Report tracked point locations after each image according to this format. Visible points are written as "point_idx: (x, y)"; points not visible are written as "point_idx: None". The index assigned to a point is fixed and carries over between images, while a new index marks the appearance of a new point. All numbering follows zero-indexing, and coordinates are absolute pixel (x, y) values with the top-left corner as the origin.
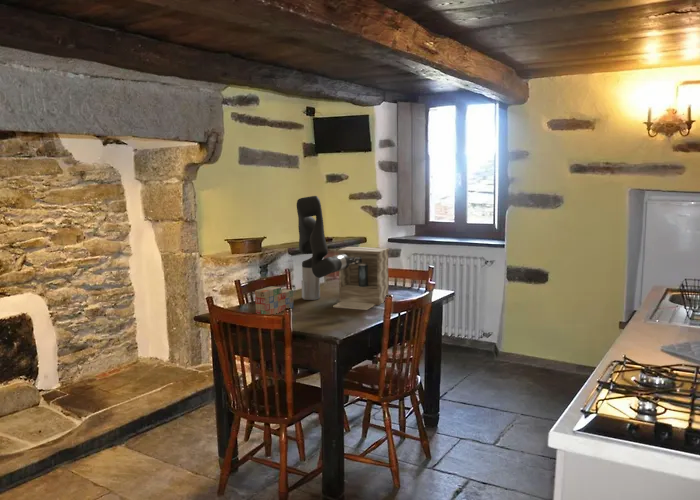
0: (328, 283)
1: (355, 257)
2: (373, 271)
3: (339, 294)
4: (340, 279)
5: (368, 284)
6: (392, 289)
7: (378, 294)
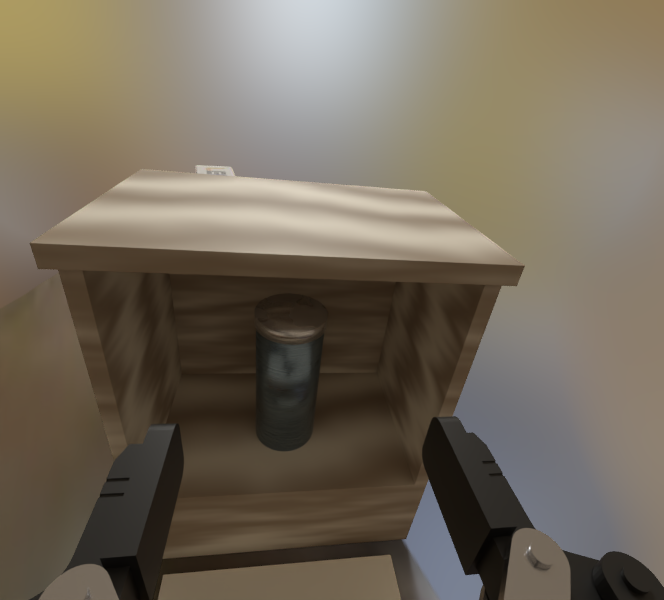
0: (55, 282)
1: (510, 579)
2: None
3: None
4: None
5: None
6: None
7: (413, 504)
